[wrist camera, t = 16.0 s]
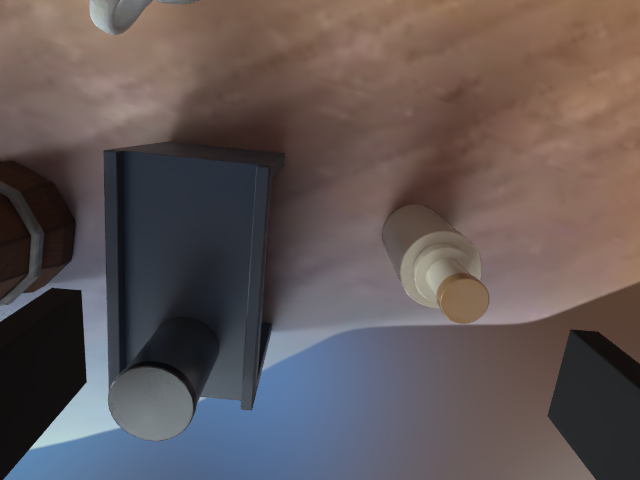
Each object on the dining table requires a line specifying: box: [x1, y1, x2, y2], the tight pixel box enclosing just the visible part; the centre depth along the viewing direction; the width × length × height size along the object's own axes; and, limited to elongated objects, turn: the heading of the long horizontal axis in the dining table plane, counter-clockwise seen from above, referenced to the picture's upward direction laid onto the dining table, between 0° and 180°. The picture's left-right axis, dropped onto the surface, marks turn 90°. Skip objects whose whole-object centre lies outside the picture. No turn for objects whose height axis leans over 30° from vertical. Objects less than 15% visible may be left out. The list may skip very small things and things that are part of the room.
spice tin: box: [108, 317, 219, 441], centre depth 28 cm, size 5×5×7 cm
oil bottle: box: [382, 205, 489, 324], centre depth 33 cm, size 6×6×15 cm
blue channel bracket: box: [104, 142, 286, 410], centre depth 35 cm, size 17×10×12 cm, turn 174°
